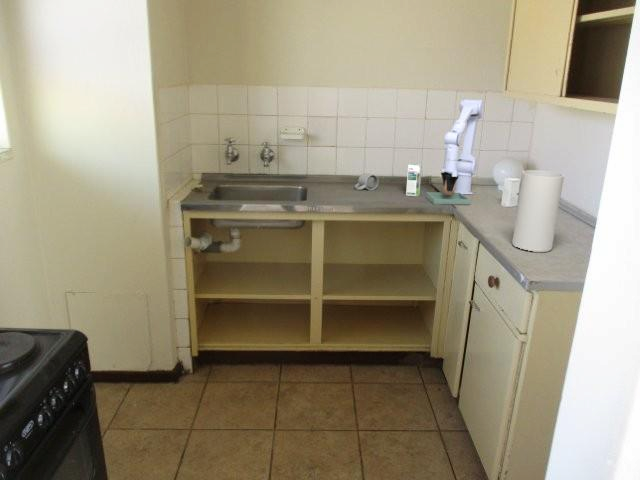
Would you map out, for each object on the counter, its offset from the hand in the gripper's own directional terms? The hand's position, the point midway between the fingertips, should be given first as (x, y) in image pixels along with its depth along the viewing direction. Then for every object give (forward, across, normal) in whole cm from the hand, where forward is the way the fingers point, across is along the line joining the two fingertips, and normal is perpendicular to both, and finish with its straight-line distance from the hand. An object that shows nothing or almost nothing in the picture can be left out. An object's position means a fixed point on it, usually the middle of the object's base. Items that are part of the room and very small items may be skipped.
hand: (448, 189), depth 236 cm
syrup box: (+6, -12, -13) cm, 19 cm away
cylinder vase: (+6, +65, +10) cm, 66 cm away
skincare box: (+6, +7, +26) cm, 27 cm away
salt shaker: (+2, 0, 0) cm, 2 cm away
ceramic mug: (+6, -24, -34) cm, 42 cm away
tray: (+5, 0, 0) cm, 5 cm away
